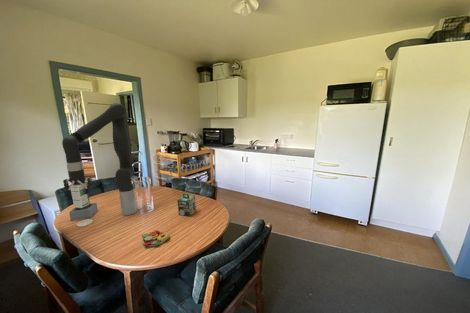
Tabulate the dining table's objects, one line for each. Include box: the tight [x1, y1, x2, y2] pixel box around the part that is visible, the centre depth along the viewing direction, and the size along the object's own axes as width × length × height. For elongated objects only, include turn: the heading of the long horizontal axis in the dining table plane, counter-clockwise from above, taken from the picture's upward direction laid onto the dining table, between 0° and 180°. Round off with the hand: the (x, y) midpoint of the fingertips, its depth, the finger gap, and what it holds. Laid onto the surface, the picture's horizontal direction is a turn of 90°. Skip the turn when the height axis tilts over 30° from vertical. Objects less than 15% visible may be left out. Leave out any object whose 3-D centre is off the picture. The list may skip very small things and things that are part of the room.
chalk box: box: [177, 193, 197, 217], centre depth 135 cm, size 9×9×15 cm
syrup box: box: [69, 183, 91, 208], centre depth 120 cm, size 6×6×14 cm
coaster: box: [76, 218, 94, 228], centre depth 123 cm, size 8×8×1 cm
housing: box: [68, 201, 99, 221], centre depth 133 cm, size 11×11×6 cm
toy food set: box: [141, 229, 171, 247], centre depth 106 cm, size 13×13×3 cm
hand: (80, 194), depth 120 cm, fingers closed on syrup box, 7 cm apart
